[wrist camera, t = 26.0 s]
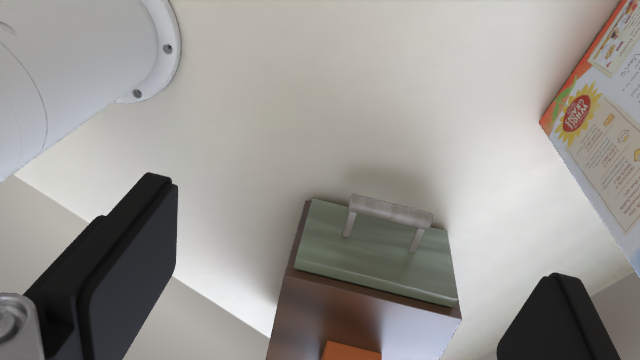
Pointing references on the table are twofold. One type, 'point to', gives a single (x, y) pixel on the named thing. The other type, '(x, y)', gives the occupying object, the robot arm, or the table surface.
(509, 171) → the table surface
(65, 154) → the table surface
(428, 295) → the drawer
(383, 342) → the cabinet
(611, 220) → the cracker box
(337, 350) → the box
